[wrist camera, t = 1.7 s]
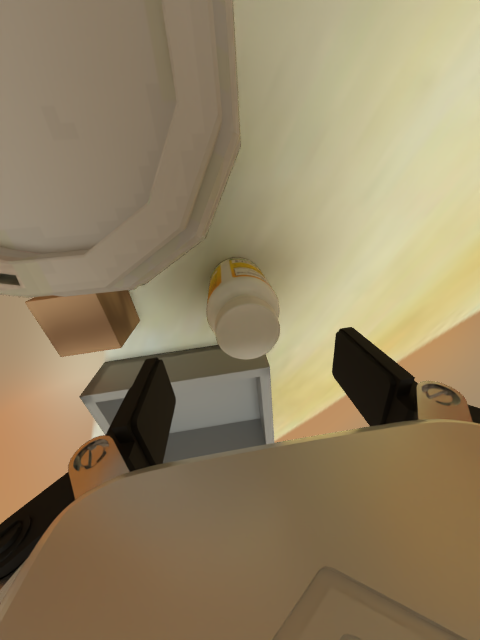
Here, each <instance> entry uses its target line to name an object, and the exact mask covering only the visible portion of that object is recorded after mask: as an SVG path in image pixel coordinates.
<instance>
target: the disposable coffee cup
mask: <svg viewBox="0 0 480 640" xmlns="http://www.w3.org/2000/svg"><path fill="white" fill-rule="evenodd" d="M240 147H241V141H240V122H239V104H238V85H237V66H236V47H235V28H234V10H233V0H0V295H8V296H18V297H26V298H32V297H41V296H51V295H54V296H62V297H66V296H76V295H85V294H95V293H104V292H114V291H123V290H132V289H136V288H137V287H138V286H140V285H145V284H146V283H148V282H149V281H150V280H152V279H153V278H154V277H155V276H157V275H158V274H159V273H161V272H162V271H163V270H165V269H166V268H167V267H168V266H170V265H171V264H172V263H174V262H175V261H176V260H178V259H179V258H180V257H182V256H183V255H184V254H185V253H187V252H188V251H189V250H191V249H192V248H193V247H195V246H196V245H197V244H198V243H200V242H201V241H202V240H204V239H205V238H206V235H207V232H208V230H209V227H210V225H211V222H212V219H213V217H214V214H215V212H216V209H217V206H218V204H219V201H220V199H221V196H222V194H223V191H224V188H225V186H226V183H227V181H228V178H229V175H230V173H231V170H232V168H233V165H234V162H235V160H236V157H237V155H238V152H239V149H240Z"/></svg>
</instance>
